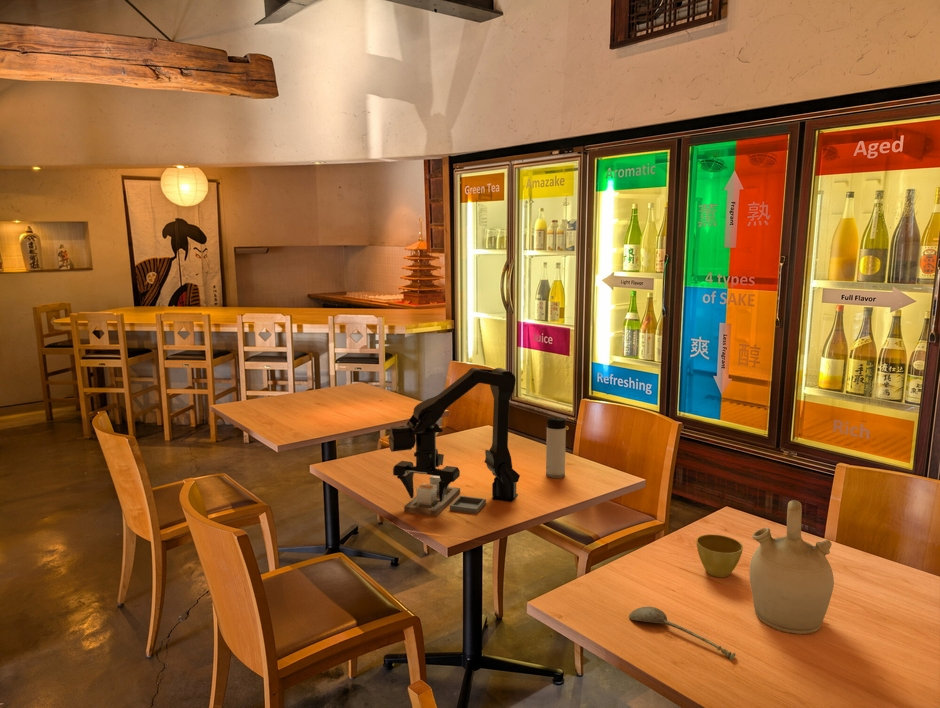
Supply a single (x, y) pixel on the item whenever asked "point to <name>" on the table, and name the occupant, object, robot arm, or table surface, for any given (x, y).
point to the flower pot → (719, 554)
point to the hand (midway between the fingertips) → (426, 499)
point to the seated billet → (437, 483)
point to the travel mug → (555, 447)
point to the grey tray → (468, 504)
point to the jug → (791, 578)
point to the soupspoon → (659, 617)
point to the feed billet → (427, 495)
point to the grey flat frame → (437, 509)
